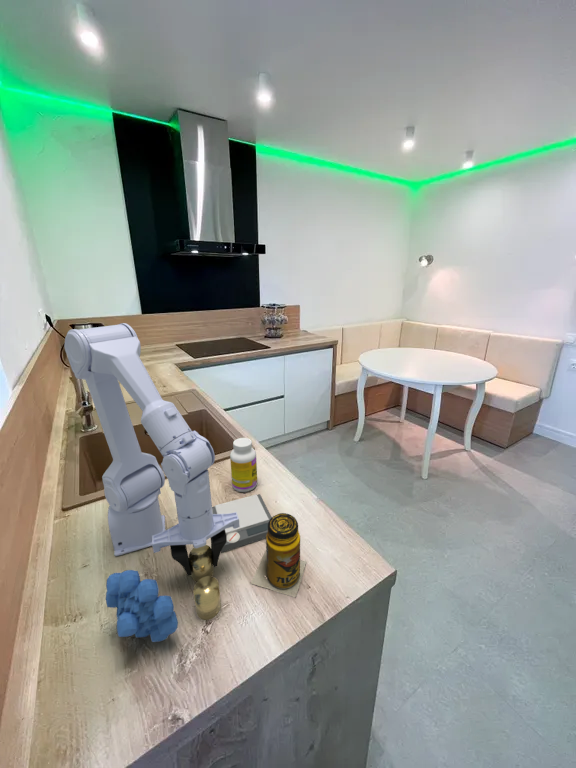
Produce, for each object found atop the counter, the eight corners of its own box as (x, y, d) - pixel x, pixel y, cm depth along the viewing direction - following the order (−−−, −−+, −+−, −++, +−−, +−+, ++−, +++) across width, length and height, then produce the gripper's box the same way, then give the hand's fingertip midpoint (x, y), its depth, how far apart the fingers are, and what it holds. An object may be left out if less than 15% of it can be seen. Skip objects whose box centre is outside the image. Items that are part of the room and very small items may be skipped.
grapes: (92, 652, 45) (74, 592, 41) (127, 607, 51) (113, 552, 47) (161, 678, 42) (148, 616, 38) (189, 627, 48) (180, 569, 44)
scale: (221, 553, 61) (220, 544, 60) (211, 513, 72) (210, 505, 71) (277, 534, 66) (277, 526, 65) (260, 499, 76) (259, 491, 75)
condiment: (295, 597, 53) (296, 543, 49) (250, 584, 55) (247, 531, 51) (306, 562, 59) (307, 511, 55) (265, 551, 62) (263, 502, 58)
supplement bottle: (255, 493, 78) (253, 449, 74) (229, 493, 78) (226, 448, 74) (258, 477, 85) (257, 435, 80) (234, 477, 85) (231, 435, 81)
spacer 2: (197, 624, 49) (194, 603, 47) (194, 601, 52) (191, 581, 51) (223, 614, 50) (221, 593, 49) (218, 592, 54) (216, 572, 52)
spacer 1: (192, 585, 55) (190, 566, 53) (190, 567, 58) (187, 548, 57) (215, 577, 56) (213, 558, 55) (211, 560, 60) (209, 541, 58)
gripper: (147, 536, 46) (160, 601, 51) (242, 509, 51) (246, 570, 56) (148, 506, 52) (159, 566, 57) (232, 485, 58) (236, 542, 62)
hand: (202, 566), depth 57 cm, fingers closed on spacer 1, 4 cm apart
